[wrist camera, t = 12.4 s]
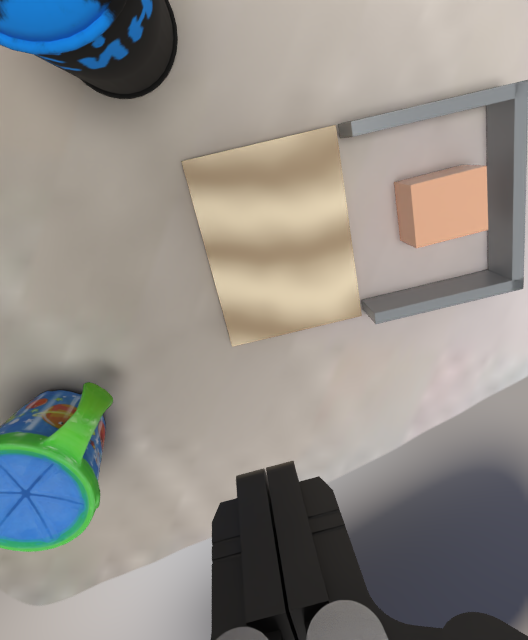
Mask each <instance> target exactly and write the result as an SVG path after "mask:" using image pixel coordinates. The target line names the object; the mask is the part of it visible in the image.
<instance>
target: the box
mask: <svg viewBox="0 0 528 640" xmlns="http://www.w3.org/2000/svg"><path fill="white" fill-rule="evenodd" d="M485 105H486V114H487V198H488V270H485V271H481V272H476V273H472V274H468V275H464V276H460V277H456V278H451V279H447V280H443V281H439V282H435V283H430V284H426V285H422V286H418V287H414V288H410V289H405V290H401V291H397V292H393V293H389V294H385V295H380V296H376V297H372V298H368V299H364V300H362V307H363V310H364V312H365V313H366V314H367V315H368V316H369V317H370V318H371V319H372V320H373V322H374V323H375V324H379V323H383V322H387V321H391V320H395V319H400V318H404V317H408V316H412V315H416V314H420V313H425V312H429V311H433V310H437V309H441V308H445V307H450V306H454V305H458V304H462V303H466V302H470V301H475V300H479V299H483V298H487V297H491V296H495V295H500V294H504V293H508V292H512V291H516V290H520V289H523V282H524V243H525V204H526V165H527V126H528V80H525V81H521V82H517V83H512V84H508V85H504V86H499V87H495V88H491V89H486V90H482V91H478V92H474V93H469V94H465V95H461V96H457V97H452V98H448V99H444V100H440V101H435V102H431V103H427V104H423V105H418V106H414V107H410V108H406V109H401V110H397V111H393V112H389V113H384V114H380V115H376V116H372V117H367V118H363V119H359V120H355V121H350V122H346V123H342V124H338V128H339V135H340V138H345V137H353V136H358V135H362V134H366V133H370V132H375V131H379V130H383V129H387V128H392V127H396V126H400V125H404V124H409V123H413V122H417V121H421V120H426V119H430V118H434V117H438V116H443V115H447V114H451V113H455V112H460V111H464V110H468V109H472V108H476V107H481V106H485Z"/></svg>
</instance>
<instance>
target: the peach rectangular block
mask: <svg viewBox="0 0 528 640" xmlns="http://www.w3.org/2000/svg"><path fill="white" fill-rule="evenodd" d="M394 187H395V196H396V205H397V215H398V224H399V233H400V240H401V241H403V242H405V243H407V244H409V245H411V246H413V247H415V248H419V247H423V246H427V245H431V244H435V243H439V242H443V241H447V240H451V239H455V238H459V237H462V236H466V235H470V234H474V233H478V232H482V231H486V230H488V198H487V166H481V165H460V166H456V167H452V168H448V169H444V170H440V171H436V172H432V173H429V174H425V175H421V176H417V177H413V178H409V179H405V180H401V181H397V182H394Z"/></svg>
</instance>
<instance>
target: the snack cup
mask: <svg viewBox="0 0 528 640" xmlns="http://www.w3.org/2000/svg"><path fill="white" fill-rule="evenodd" d="M112 403H113V398H112V396H111V395H110V394H109V393H108V392H107V391H106V390H105V389H102V388H101V387H99V386H98V385H96V384H93V383H90V382H87V383H85V384H84V385H83V392H82V394H77V393H73V392H69V391H63V390H57V391H46V392H44V393H41V394H40V395H38V396H37V397H35V398H34V399H32V400H31V401H29V402H28V403H27V404H26V405H25V406H23V407H22V408H21V409H20V410H19V411H18V412H16V413H15V414H14V415H13V416H12V417H11V418H9V419H8V420H7V421H6V422H5V423H4V424H3V425H1V426H0V548H4V549H8V550H14V551H26V552H31V551H42V550H48V549H52V548H55V547H58V546H61V545H64V544H66V543H68V542H70V541H71V540H73V539H74V538H76V537H77V536H79V535H80V534H81V533H82V532H83V531H84V530H85V529H86V527H87V526H88V525H89V523H90V521H91V519H92V517H93V515H94V512H95V510H96V508H98V507H99V503H100V489H99V485H98V476H99V472H100V463H101V459H102V452H103V446H104V440H105V420H104V418H103V413H104V412H105V411H106V410H107V409H108V408H109V407H110V406H111V404H112Z"/></svg>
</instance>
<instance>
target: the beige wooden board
mask: <svg viewBox="0 0 528 640" xmlns="http://www.w3.org/2000/svg"><path fill="white" fill-rule="evenodd" d="M181 162H182V165H183V169H184V173H185V176H186V180H187V184H188V187H189V191H190V195H191V198H192V202H193V205H194V209H195V213H196V216H197V220H198V224H199V227H200V231H201V235H202V238H203V242H204V246H205V249H206V253H207V256H208V260H209V264H210V267H211V271H212V275H213V278H214V282H215V286H216V289H217V293H218V296H219V300H220V304H221V307H222V311H223V315H224V318H225V322H226V326H227V329H228V333H229V337H230V340H231V344H232V347H234V346H238V345H242V344H246V343H250V342H254V341H259V340H263V339H267V338H271V337H275V336H279V335H284V334H288V333H292V332H296V331H300V330H305V329H309V328H313V327H317V326H321V325H325V324H330V323H334V322H338V321H342V320H346V319H350V318H355V317H359V316H362V314H361V307H360V299H359V292H358V285H357V277H356V270H355V263H354V255H353V248H352V241H351V233H350V226H349V219H348V211H347V204H346V196H345V189H344V182H343V174H342V167H341V160H340V152H339V145H338V138H337V130H336V125H334V126H329V127H325V128H321V129H316V130H312V131H308V132H304V133H299V134H295V135H291V136H287V137H282V138H278V139H274V140H270V141H265V142H261V143H257V144H253V145H248V146H244V147H240V148H236V149H231V150H227V151H223V152H219V153H214V154H210V155H206V156H202V157H197V158H193V159H189V160H185V161H181Z"/></svg>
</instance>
